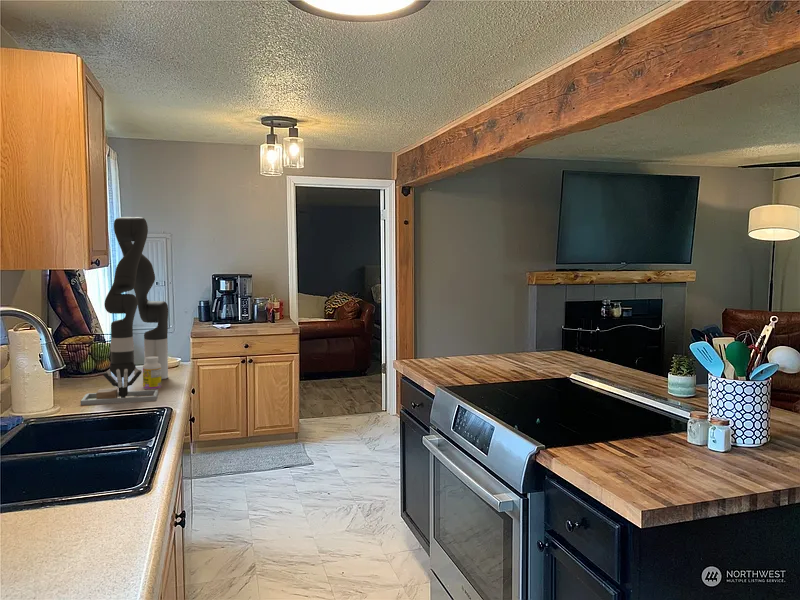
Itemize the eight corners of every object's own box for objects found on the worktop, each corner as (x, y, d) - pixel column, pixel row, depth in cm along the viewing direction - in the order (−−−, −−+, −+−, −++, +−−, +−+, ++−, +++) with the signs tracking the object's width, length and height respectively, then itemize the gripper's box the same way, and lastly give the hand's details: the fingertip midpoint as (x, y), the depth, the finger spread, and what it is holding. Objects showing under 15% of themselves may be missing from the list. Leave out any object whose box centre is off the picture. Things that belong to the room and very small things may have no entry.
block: (99, 398, 210) (99, 388, 210) (117, 397, 212) (117, 387, 212) (96, 402, 205) (96, 392, 204) (115, 401, 206) (115, 391, 206)
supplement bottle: (140, 389, 230) (140, 356, 229) (158, 386, 234) (157, 355, 234) (146, 392, 225) (145, 359, 224) (163, 389, 229) (163, 357, 228)
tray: (86, 400, 211) (86, 393, 211) (158, 396, 219) (158, 389, 219) (80, 407, 201) (80, 400, 201) (156, 403, 209) (156, 396, 208)
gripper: (143, 347, 214) (144, 393, 216) (103, 348, 210) (104, 396, 211) (141, 350, 207) (142, 398, 209) (100, 351, 203) (101, 400, 204)
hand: (123, 397), depth 210 cm, fingers closed
